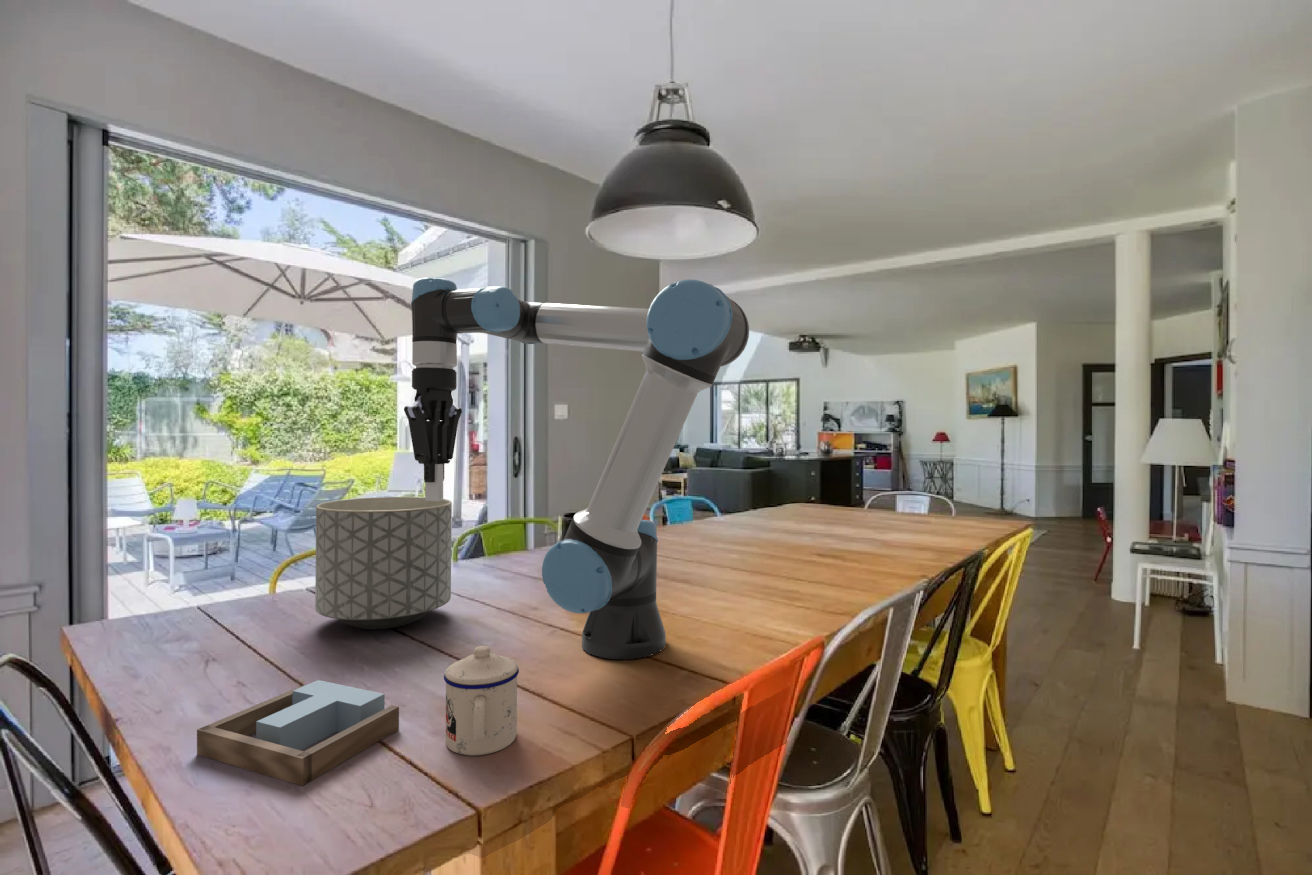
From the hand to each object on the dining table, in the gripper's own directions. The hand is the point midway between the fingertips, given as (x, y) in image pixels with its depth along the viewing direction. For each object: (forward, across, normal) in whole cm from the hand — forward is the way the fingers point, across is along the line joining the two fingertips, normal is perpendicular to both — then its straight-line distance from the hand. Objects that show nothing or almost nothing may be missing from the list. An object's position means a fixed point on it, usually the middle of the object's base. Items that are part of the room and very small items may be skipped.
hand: (434, 500), depth 115 cm
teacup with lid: (+26, +27, +29) cm, 48 cm away
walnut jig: (+26, +34, +8) cm, 44 cm away
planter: (+26, -8, -19) cm, 33 cm away
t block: (+26, +33, +8) cm, 43 cm away
